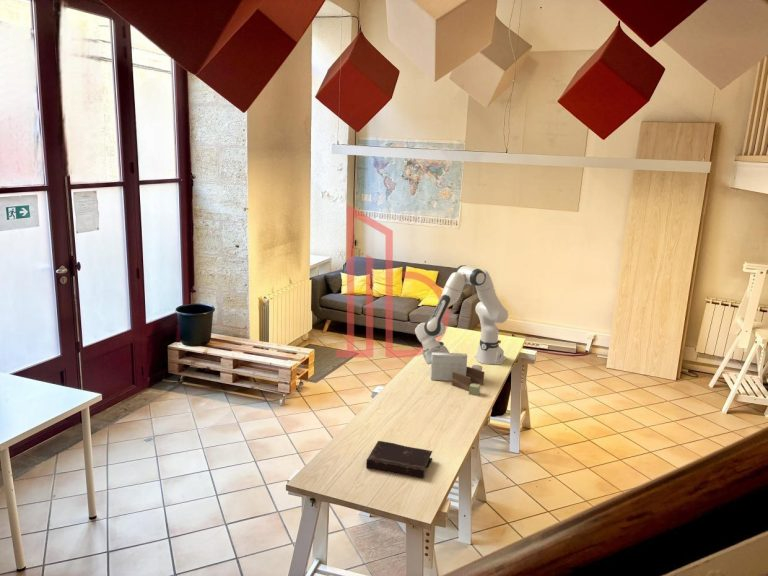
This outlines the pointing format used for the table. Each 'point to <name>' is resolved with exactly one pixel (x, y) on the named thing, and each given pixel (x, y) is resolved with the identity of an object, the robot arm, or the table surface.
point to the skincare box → (448, 365)
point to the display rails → (467, 378)
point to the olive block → (474, 389)
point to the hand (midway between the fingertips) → (443, 366)
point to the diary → (399, 459)
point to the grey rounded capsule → (477, 367)
